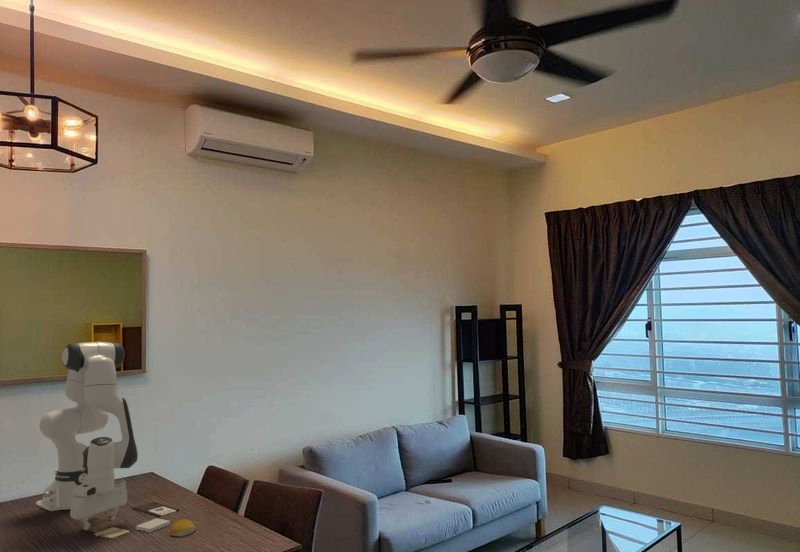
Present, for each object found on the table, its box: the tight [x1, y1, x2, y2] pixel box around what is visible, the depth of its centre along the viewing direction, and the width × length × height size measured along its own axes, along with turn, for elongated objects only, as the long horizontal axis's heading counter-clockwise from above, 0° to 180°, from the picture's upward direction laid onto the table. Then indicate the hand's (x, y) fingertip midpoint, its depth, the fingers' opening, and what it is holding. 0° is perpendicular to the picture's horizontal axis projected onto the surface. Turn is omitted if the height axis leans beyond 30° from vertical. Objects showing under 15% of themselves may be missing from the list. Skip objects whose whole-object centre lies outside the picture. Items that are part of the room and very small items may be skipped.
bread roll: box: [169, 518, 196, 537], centre depth 205 cm, size 8×9×4 cm
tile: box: [135, 517, 171, 534], centre depth 210 cm, size 2×9×7 cm
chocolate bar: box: [132, 501, 180, 518], centre depth 230 cm, size 9×1×18 cm
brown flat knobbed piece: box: [80, 515, 130, 539], centre depth 206 cm, size 19×7×4 cm, turn 64°
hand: (99, 524), depth 207 cm, fingers open, 8 cm apart
